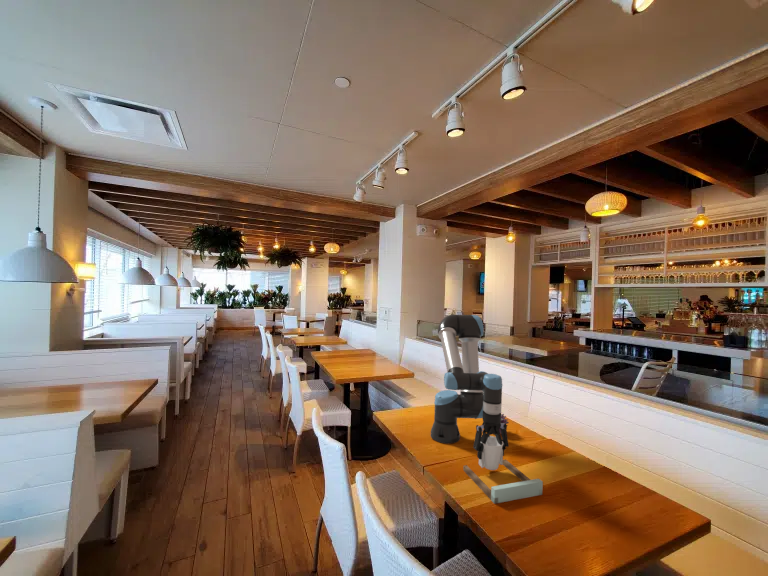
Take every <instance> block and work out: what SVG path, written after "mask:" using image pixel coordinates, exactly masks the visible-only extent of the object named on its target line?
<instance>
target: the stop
mask: <svg viewBox="0 0 768 576" xmlns="http://www.w3.org/2000/svg"><path fill="white" fill-rule="evenodd" d="M543 482H544V481H543V480H541V479H540V478H533V479H530V480H527V481H522V480H521V481H517V482H511V483H506V484H504V483H503V484H499V485H494V486H491V488H490V490H491V495H492V496H493V497H492V496H491V499H492V498H493V499H492V500H493V501H494V502H495V501H497V500H498V503H497V502H496V503H495V504H501V503H504V502H511V501H514V500H515V501H516V500H522V499H526V498H532V497H537V496H540V495H539V492H540V494H542V495H543V489H544V487H543V484H544V483H543ZM539 490H540V491H539ZM494 498H496V499H495V500H494ZM497 498H498V499H497ZM492 500H490V501H491V502H492Z"/></svg>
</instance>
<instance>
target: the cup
mask: <svg viewBox="0 0 768 576" xmlns="http://www.w3.org/2000/svg"><path fill="white" fill-rule="evenodd" d="M481 443H482V442H481ZM482 444H483V445H484V449H483V452H484V468H485V469H486V470H490V471H496V470H498V468H499V465H500V464H499V461H500V456H501V451H502V446H503V444H504V443H503V441H502V445H500V444H499V443H498V441H497V439H496V436H495V435H494V436H493V435H490V436H489V437H488V439H487V441H486V444H484V443H482Z"/></svg>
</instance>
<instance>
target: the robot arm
mask: <svg viewBox="0 0 768 576" xmlns="http://www.w3.org/2000/svg"><path fill="white" fill-rule="evenodd" d="M437 335H438V338H439V339H440V340H441V341H440V342H441V347H442V353H443V357H444V362H445V367H446V372H445V373H444V376H443V381H444V382H443V383H444V384H443V385H444V388H445V389H446V390H440V391H439V392H436V394H435V397H434V417H433V418H434V421H433V423H432V426H431V428H430V438H431V439H432V440H434V441H435V442H438V443H440V444H441V443H442V444H456V443H458V442H459V441H460V440H461V433H460V430H459V429H460V428H459V426H458V419H475V420H476V419H482V423H481V425H478V424H477V425H475V429H476V431H475V436H474V442H473V446H472V449H474V450H475V451H476V452H477V459H478V465H479V466H480V468H481V469H483V468H485V467H484V452H483V449H484V445H483V444H482V443H484V444H486V441H487V439H488V437H489V436H492V435H494V437H496V439H497V441H498V443H499V444H500V445H502V441H503V443H504V444H503V446H502V451H501V456H500V461H499V465H500V466H504V465H503V460H504V456H505V451H506V450H507V448H508V447H509V446H510V445H509V439H508V432H507V430H508V426H507V425H508V424H505V423H503V422H502V423H500V422H501V414H502V402H503V401H502V398H503V378H502V376H501V375H498V374H496V373H488V372H486V371H483V370H482V371H480V369H479V368H480V367H479V366H480V363H479V347H478V346H479V345H478V344H479V341H481V337H483V335H484V323H483V320H482V318H481V317H480V316H479V315H475V314H449V315H446V316H445V317H443V318H442V320H441V321H440V323H439V324H438V327H437ZM456 337H458V340H459V341H460V342H461V354H460V352H459V347H458V342H457V338H456ZM458 391H459V393H460V394H458ZM500 428H501V433H500V432H499V429H500ZM506 429H507V430H506ZM481 442H482V443H481Z"/></svg>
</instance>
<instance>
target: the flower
mask: <svg viewBox="0 0 768 576" xmlns="http://www.w3.org/2000/svg"><path fill="white" fill-rule="evenodd" d="M506 418H507V415H505V414H504V413H501V422H500V423H502V422H503V423H505V424H506V425H507V427H508V426H509V425H508V424H509V421H508V418H507V419H506ZM507 430H508V428H507V429H506V431H507ZM499 432H500V434H501V428H500V429H499Z"/></svg>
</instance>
